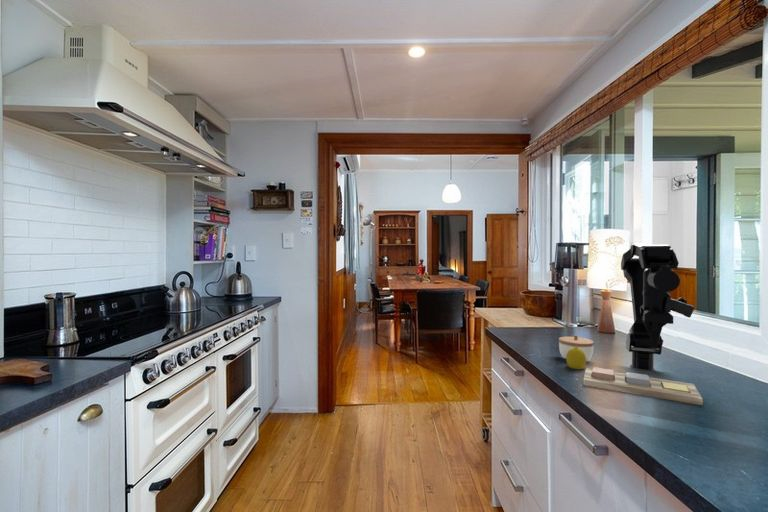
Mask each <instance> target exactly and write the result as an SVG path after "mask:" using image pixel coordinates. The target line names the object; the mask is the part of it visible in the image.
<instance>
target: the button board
mask: <svg viewBox="0 0 768 512" xmlns="http://www.w3.org/2000/svg"><path fill="white" fill-rule="evenodd" d="M592 371H593V368H589V367H586V368H585V371H584V376H583V383H582V384H583V386H587V387H592V388H593V387H594V388H598V389H599V388H600V389H605V390H610V391H617V392H623V393H628V394H634V395H639V396H645V397H651V398H656V399H663V400H669V401H675V402H679V403H687V404H693V405H699V406H703V404H704V403H703V402H704V401H703V400H704V399H703V396H702V395H701V394H700V392H699V391H698V388H696V386H695V384H694V383H690V382H689V383H688V382H684V381H676V380H672V379H671V380H669V379H664V378H656V377H650V376H649V379H650V387H649V386H643V385H637V384H631V383H626V373H622V372H616V371H614V381H612V380H605V379H599V378H593V377H592ZM662 382H667V383H674V384H680V385H686V386H687V388H688V390H689V393H687V392H681V391H674V390H668V389H663V388H662Z"/></svg>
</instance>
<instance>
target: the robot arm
mask: <svg viewBox="0 0 768 512" xmlns="http://www.w3.org/2000/svg"><path fill="white" fill-rule="evenodd" d="M634 256H635V257H634ZM678 266H679V260H678V257H677V255H676V252H675V250H674V249H673V248H672V246H671V245H670V244H649V243H645V242H644V243H632V244H631V245H630V248H629V249H628V250H627V251H625V252H624V253H623V254H622V258H621V261H620V269H621V270H622V271H623V272H622V273H623V276H624V278H625V279H626V280H627V281H628V282H629V284H630V285H629V286H630V287H629V288H630V295H631V303H632V304H631V305H632V314H633V324H632V325H631V327H630V329H629V330H628V331H629V332H627V333H628V334H627V336H626V340H625V349H626V350H627V351H628V352H629V353H631V364H630V365H629V367H630V368H631V369H637V370H643V371H644V370H645V371H654V372H655V371H656V369H655V368H654V366H655V365H654V359H655V357H654V356H655V355H660V356H661V354H662V350H663V344H664V340H663V337H662V335H661V333H662V330H663V327H665V326H667V324H669V325H673V324H674V316H673V314H671V312H675V313H676V314H680V315H683V316H684V317H686V318H691V317H692V315H693V313H694V311H695V309H696V306H694V305H692V304H688V301H687V299H685V298H683V297H678V298H677V299H674V298H672V297H671V293H669V292H673V291H675V290H676V289H678V288H679V287H680V284H681V279H680V277H679V275H678V273H676V272H674V271H672V270H678Z"/></svg>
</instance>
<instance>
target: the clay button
mask: <svg viewBox="0 0 768 512" xmlns="http://www.w3.org/2000/svg"><path fill="white" fill-rule="evenodd" d="M592 369H593V371H592V377H593V378H599V379H605V380H612V381H614V372H615V371H614V369H609V368H601V367H595V366H593V367H592Z"/></svg>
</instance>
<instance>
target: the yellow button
mask: <svg viewBox="0 0 768 512" xmlns="http://www.w3.org/2000/svg"><path fill="white" fill-rule="evenodd" d="M662 388H663V389H668V390H674V391H681V392H687V393H689V390H688V388H687V386H686V385H680V384H674V383H667V382H662Z"/></svg>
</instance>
